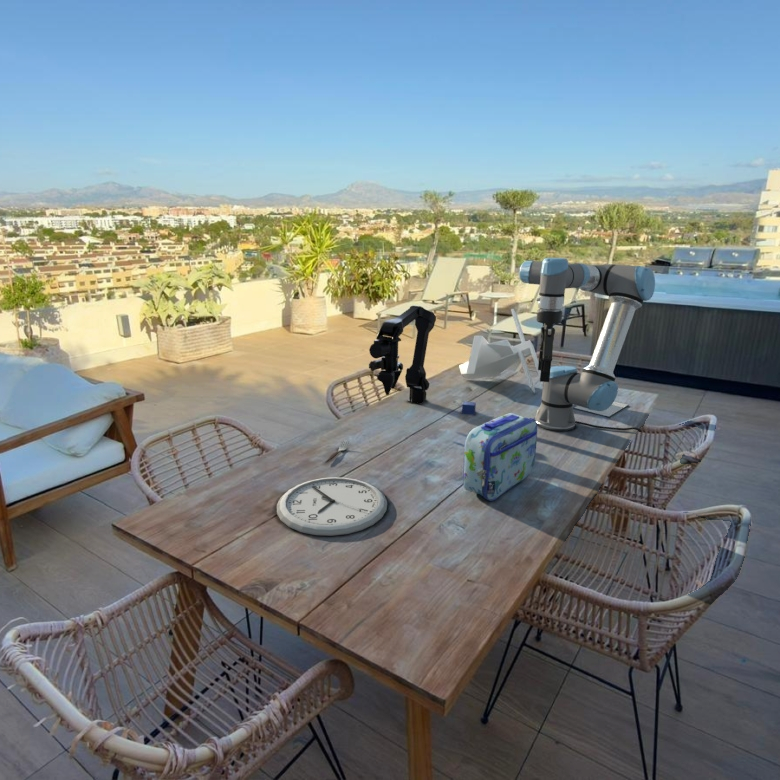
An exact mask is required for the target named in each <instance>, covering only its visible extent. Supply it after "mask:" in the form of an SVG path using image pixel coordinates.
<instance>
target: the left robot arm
mask: <svg viewBox="0 0 780 780" xmlns="http://www.w3.org/2000/svg"><path fill="white" fill-rule="evenodd" d="M412 322H414V326H415V328H416V330H417V333H416V339H415V344H414V351H413V357H412V363H411V365H410V367H407V368H406V371H405V376H404V380H405V385H406V388H409V399H408V400H407V403H412V404H417V405H422V404H423V403H426V402H427V401H428V399H427V391H428V389H429V388H430V382H429V381H428V379H427V372H426V369H425V359H426V354H427V347H428V342H429V335H430V332H431V331H432V330H433V329H434V328H435V324H436V322H437V316H436V315H435V313H434V311H430V310H428V309H426V308H424V307H423V306H421V305H414V304H413V305H410V306H409V308H408V309H406V310H405V311H404V312H402V313H401V314H400V315H398V316H397V317H395V318H391V319H387V320H384V321H383V322H382V324H381V326H380V328H379V329H378V330H379V331H378V333H377V335H376V338H375V340H373V343H372V344H371V345H370V346H369V354H370V356H371V357H372V358H373V359H376V360H371V361H369V363H368V369H369V370H370V372H374V371H377V370H379V369H380V371H379V372H378V373H377V374H376V379H377V380H378V381H379V382H381V383H382V386H383V389H384V393H385V395H386V396H389V395H390V393H391V390H392V389H395V388H396V385H397V383H398V381H399V379H400V376H401V374H402V372H403V370H404V364H403V363H402V362H399V359H400V355H399V342H402V339H401V337H400V336H401V335H402V334H403V333H404V329H405V327H407V326H408V325H410V324H411V323H412Z"/></svg>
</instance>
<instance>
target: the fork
mask: <svg viewBox="0 0 780 780" xmlns="http://www.w3.org/2000/svg"><path fill="white" fill-rule="evenodd" d="M349 443H350V441H347V440H346V439H345V440H344V439H343V440H342V442H341V444H340V445H339V447H338V450H337V451H336V452H333V453H332V454H331V455H330V456H329V457H328V459H326V460H325V464H326V463H328V462H329V461H331V460H332V459H333V458H335V457H336V456H337V455H338V453H339V452H343V451H346V450H347V448H348V446H349Z"/></svg>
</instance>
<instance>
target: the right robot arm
mask: <svg viewBox="0 0 780 780" xmlns="http://www.w3.org/2000/svg"><path fill="white" fill-rule="evenodd" d="M518 276H519V277H518V278H519V279H520V282H522V283H524V284H528V285H539V292H538V297H537V298H536V300H535V301H536V302H537V305H538V306H537V308H538V309H537V311H536V322H538V323H539V324H542V326H541V327H540V343H539V355H538V361H539V364H538V370H541V374H540V378H539V382H540V383H541V382H543V386H542V394H541V402H540V405H539V407H538V408H537V410H536V413H535V417H534V419H535V420H536V422H537V427H539V428H542V429H544V430H549V431H556V432H567V431H572V430H574V429H575V428H576V424H578V425H582V426H587V427H591V428H596V429H603V430H613V431H631V430H635V431H637V432H639V433H643V431H642V429H640V428H639V427H637V426H636V427H635V426H632V427H631V426H630V427H614V426H613V427H612V426H603V425H596V424H591V423H588V422H587V423H586V422H582V421H579V420H578V421H577V420H576V418H575V417H576V416H575V413H574V407H573V405H574V406H581V407H584V408H588V409H590V410H596V411H604V410H606V409H607V408H609V407H610V406H611V405H612V404H613V402H615V400H616V398H617V396H618V390H619V385H618V383H617V382H616V379H617V377H616V376H615V374H614V371H615V369H616V365H617V362H618V359H619V358H620V355H621V351H622V348H623V346H624V343H625V340H626V337H627V335H628V332H629V329H630V326H631V323H632V320H633V318H634V315H635V312H636V310H638V309H640V308H642V306H643V303H644V302H647V301H650V300H651V298H652V297H654V293H655V290H656V278H655V273H654V271H653V270H652V268H650V267H648V266H641V265H629V264H613V263H612V264H611V263H609V264H608V263H607V264H584V263H581V262H574V263H569V260H568V258H565V257H545V258H544V259H543V260H542V261H541V260H525V261H523V262H522V264H521V265H520V267H519V272H518ZM566 289H579V290H580V291H583V292H589V293H592V294H598V295H601V296H606V297H608V298H607V299H608V301H609V303H610V305H609V308H608V312H607V313H606V316H605V319H604V322H603V325H602V327H601V330H600V332H599V336H598V339H597V342H596V343H595V347H594V350H593V353H592V355H591V358H590V361H589V364H588V365H587V366H584V367H583V368H582V370H581V373H578V372H579V371H578V368H577V367H576V366H571V365H555V366H554V365H553V366H552V361H553V351H554V350H553V349H554V341H555V333H556V329H555V327H554V325H558V324H561V323H562V321H563V313H564V312H563V309H564V305H565V292H566Z"/></svg>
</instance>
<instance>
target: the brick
mask: <svg viewBox="0 0 780 780" xmlns="http://www.w3.org/2000/svg"><path fill="white" fill-rule="evenodd" d="M476 405H477V402H476V401H465V400H464V401H462V405H461V408H462V409H461V414H462V415H469V416H471V415H472V416H475V414H476Z"/></svg>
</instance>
